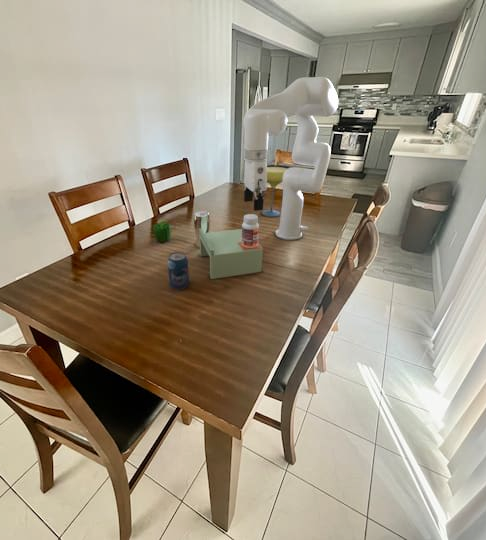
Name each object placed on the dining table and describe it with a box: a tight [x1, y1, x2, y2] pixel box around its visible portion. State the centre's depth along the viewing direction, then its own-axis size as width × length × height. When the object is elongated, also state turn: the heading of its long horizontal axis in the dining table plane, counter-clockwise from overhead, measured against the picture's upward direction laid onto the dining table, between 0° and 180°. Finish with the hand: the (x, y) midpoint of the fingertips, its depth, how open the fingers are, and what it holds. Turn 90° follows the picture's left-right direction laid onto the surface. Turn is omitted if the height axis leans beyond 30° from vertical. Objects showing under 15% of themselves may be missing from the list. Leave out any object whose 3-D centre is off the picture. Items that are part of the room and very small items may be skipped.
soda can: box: [167, 251, 190, 291], centre depth 103 cm, size 7×7×12 cm
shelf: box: [199, 228, 264, 280], centre depth 117 cm, size 20×20×12 cm
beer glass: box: [193, 210, 211, 249], centre depth 130 cm, size 7×7×15 cm
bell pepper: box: [152, 219, 172, 243], centre depth 136 cm, size 8×8×10 cm
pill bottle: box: [241, 213, 260, 248], centre depth 108 cm, size 6×6×11 cm
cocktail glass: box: [261, 164, 291, 218], centre depth 163 cm, size 18×18×25 cm
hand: (253, 205), depth 104 cm, fingers open, 9 cm apart
